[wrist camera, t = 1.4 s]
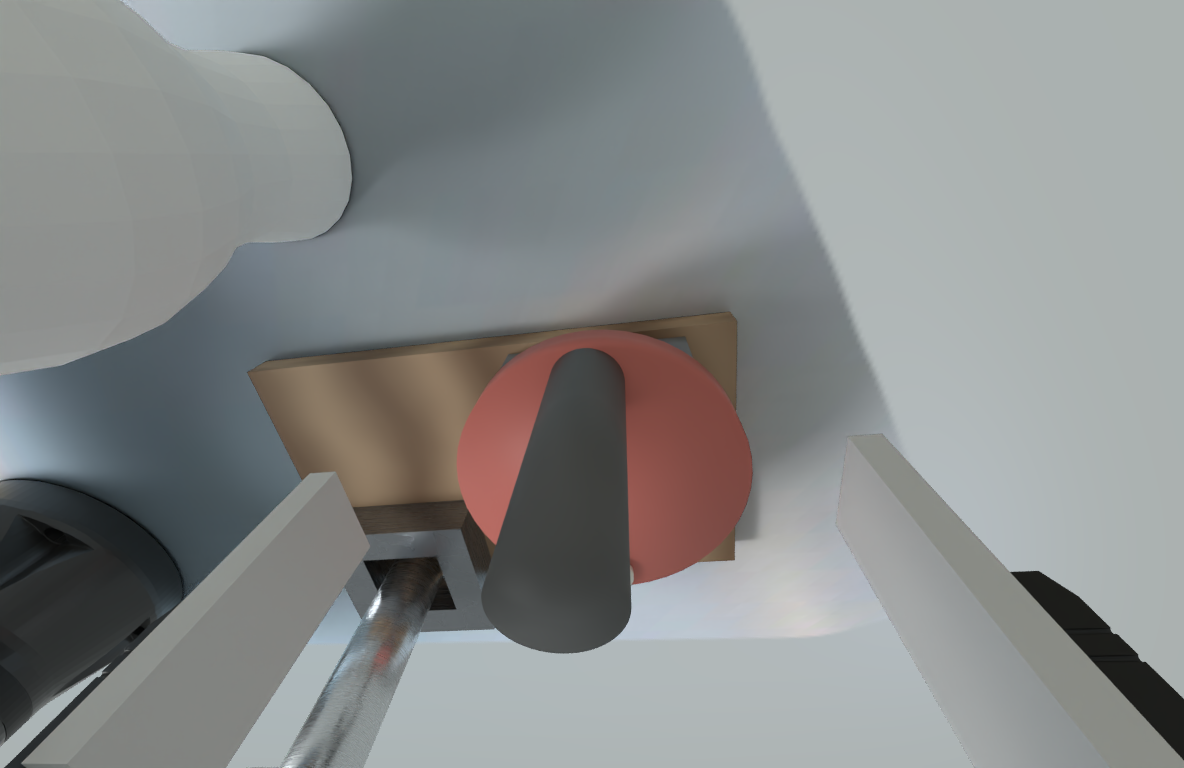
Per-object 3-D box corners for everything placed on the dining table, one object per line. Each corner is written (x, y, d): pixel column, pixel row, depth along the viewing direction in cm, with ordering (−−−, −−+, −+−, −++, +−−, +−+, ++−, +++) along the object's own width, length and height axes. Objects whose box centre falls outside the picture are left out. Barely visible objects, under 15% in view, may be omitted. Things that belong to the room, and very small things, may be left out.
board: (363, 562, 33) (327, 618, 29) (266, 361, 26) (201, 398, 22) (729, 542, 30) (746, 601, 26) (730, 311, 23) (753, 343, 19)
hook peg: (410, 572, 31) (258, 876, 18) (386, 516, 29) (193, 815, 16) (455, 570, 31) (333, 878, 18) (435, 513, 29) (278, 816, 15)
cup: (355, 10, 19) (-326, -371, 5) (402, 271, 23) (109, 425, 10) (108, 12, 19) (-1103, -333, 6) (203, 267, 24) (-333, 410, 10)
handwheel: (501, 561, 25) (417, 854, 15) (437, 345, 20) (224, 568, 9) (739, 548, 24) (836, 861, 13) (743, 313, 18) (916, 530, 8)
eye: (386, 601, 33) (369, 633, 30) (341, 508, 29) (318, 537, 27) (503, 595, 32) (494, 629, 29) (472, 499, 28) (460, 529, 26)
